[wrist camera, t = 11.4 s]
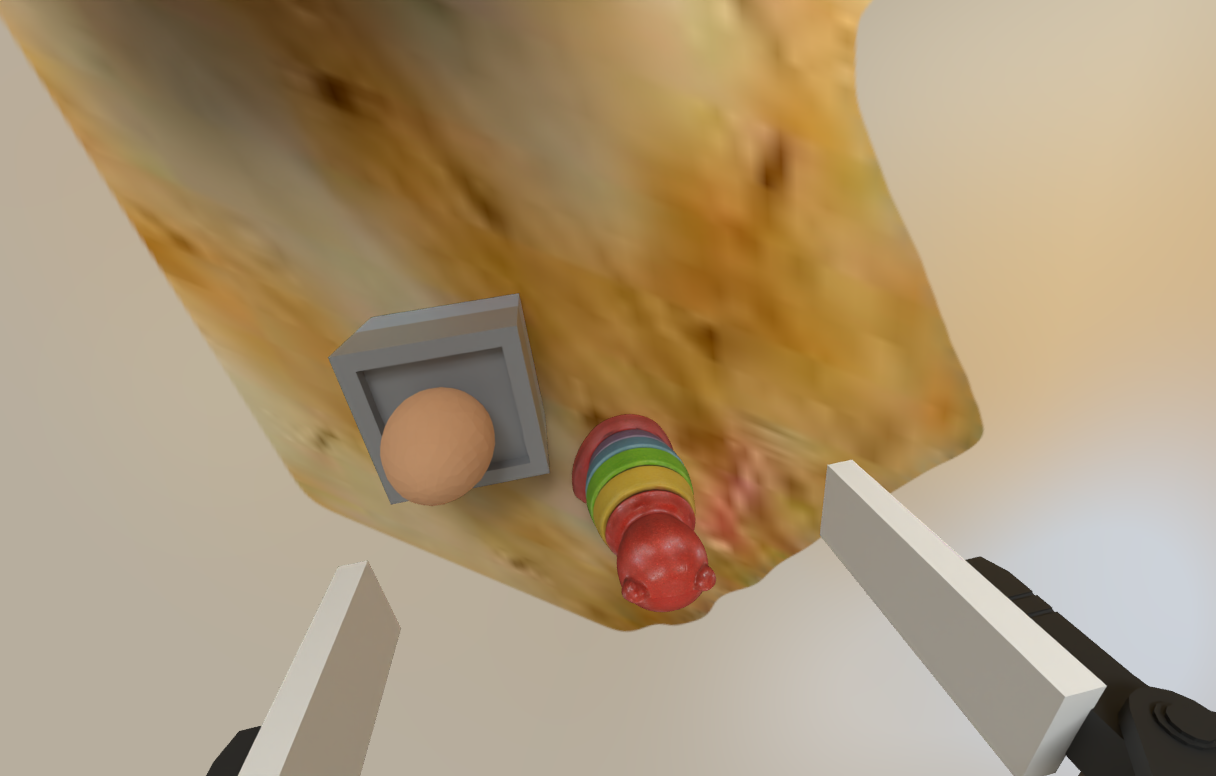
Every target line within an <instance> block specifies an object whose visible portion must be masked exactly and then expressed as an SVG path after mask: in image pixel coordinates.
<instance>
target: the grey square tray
mask: <svg viewBox="0 0 1216 776" xmlns="http://www.w3.org/2000/svg"><path fill="white" fill-rule="evenodd" d="M328 358H329V361H330V363H331V365H332V368H333V370H334V372H335V375H336V377H337V379H338V382H339V384H340V386H341V389H342V391H343V393H344V396H345V398H346V400H347V403H348V405H349V407H350V410H351V412H352V414H353V417H354V419H355V421H356V424H357V426H358V428H359V431H360V433H361V435H362V438H363V440H364V442H365V445H366V447H367V449H368V452H369V454H370V456H371V459H372V461H373V463H374V466H375V468H376V470H377V473H378V475H379V477H380V480H381V482H382V484H383V487H384V489H385V491H386V494H387V496H388V498H389V501H390V503H391V504H396V503H401V502H406V501H409V500H407V499H405V498H403V497H402V496H401V495H400V494H399V493H398V492H397V491H396V490H395V489H394V488H393V486H392V485H391V484H390V482H389V481H388V480H387V477H386V474H385V471H384V469H383V466H382V462H381V457H380V445H381V438H382V435H383V431H384V428H385V426H386V424H387V421H388V419H389V418H390V416H391V415H392V414H393V412H394V411H395V409H396V408H397V407H398V406H399V405H400V404H401V403H402V402H403V401H404V400H406V399H407V398H409V397H410V396H412V395H414V394H416V393H418V392H419V391H423V390H426V389H430V388H438V387H446V388H454V389H458V390H461V391H464V392H466V393H467V394H469V395H471V396H472V397H474V398H475V399H476V400H477V401H479V402H480V403H481V404H482V405H483V406H484V408H485V409H486V411H487V412H488V413H489V416H490V418H491V420H492V423H493V428H494V433H495V447H494V452H493V457H492V459H491V462H490V464H489V467H488V469H487V471H486V472H485V474H484V476H483V477H482V479H481V480H480V481H479V482H478V483H477V484H476V485H475V486H474V487H473V488H476V487H482V486H487V485H492V484H497V483H502V482H507V481H512V480H517V479H522V478H527V477H532V476H537V475H542V474H547V473H550V471H549V458H548V444H547V431H546V417H545V413H544V408H543V403H542V399H541V394H540V389H539V385H538V380H537V375H536V371H535V366H534V361H533V357H532V352H531V347H530V343H529V338H528V333H527V329H526V324H525V319H524V314H523V310H522V305H521V300H520V296H519V293H518V294H512V295H505V296H499V297H493V298H487V299H481V300H475V301H469V302H462V303H456V304H450V305H444V306H438V307H432V308H425V309H419V310H413V311H407V312H401V313H395V314H389V315H382V316H376V317H371V318H370V319H369V320H368V321H367V322H366V323H365V324H364V325H362V326H361V327H360V328H359V329H358V330H357V331H356V332H355V333H354V334H353V335H352V336H351V337H350V338H348V339H347V340H346V341H345V342H344V343H343V344H342V345H341V346H340V347H339V348H338V349H337V350H336V351H335V352H333V353H332V354H331V355H330V356H329V357H328Z"/></svg>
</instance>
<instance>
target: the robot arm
mask: <svg viewBox="0 0 1216 776" xmlns="http://www.w3.org/2000/svg"><path fill="white" fill-rule="evenodd" d="M820 536H821V537H822V538H823V539H824V541H825V542H826V543H827V545H828V546H829V547H830V548H831V550H832V551H833V552H834V553H835V554H836V556H837V557H838V558H839V560H840V561H841V562H842V563H843V564H844V566H845V567H846V568H847V569H848V571H849V572H850V573H851V574H852V576H853V577H854V578H855V579H856V580H857V582H858V583H859V584H860V586H861V587H862V588H863V589H864V591H865V592H866V593H867V594H868V596H869V597H870V598H871V599H872V600H873V602H874V603H875V604H876V605H877V607H878V608H879V609H880V610H881V612H882V613H883V614H884V615H885V617H886V618H887V619H888V620H889V622H890V623H891V624H892V625H893V627H894V628H895V629H896V630H897V631H898V633H899V634H900V635H901V636H902V638H903V639H904V640H905V641H906V643H907V644H908V645H909V646H910V648H911V649H912V650H913V651H914V653H915V654H916V655H917V656H918V657H919V659H920V660H921V661H922V663H923V664H924V665H925V666H926V667H927V669H928V670H929V671H930V672H931V674H932V675H933V676H934V677H935V679H936V680H937V681H938V682H939V684H940V685H941V686H942V687H943V689H944V690H945V691H946V692H947V694H948V695H949V696H950V697H951V699H952V700H953V701H954V702H955V703H956V705H957V706H958V707H959V708H960V710H961V711H962V712H963V713H964V715H965V716H966V717H967V718H968V720H969V721H970V722H971V723H972V725H973V726H974V727H975V728H976V730H977V731H978V732H979V733H980V735H981V736H982V737H983V738H984V740H985V741H986V742H987V743H988V744H989V746H990V747H991V748H992V749H993V751H994V752H995V753H996V754H997V756H998V757H999V758H1000V759H1001V761H1002V762H1003V763H1004V764H1005V766H1006V767H1007V768H1008V769H1009V771H1010V772H1011V773H1012V774H1013V775H1014V776H1046V775H1049V774H1053V773H1056V771H1057V769H1058V768H1059V766H1060V764H1061V763H1062V761H1063V759H1064V757H1065V756H1067V757H1068V758H1069V759H1070V760H1071V761H1072V762H1073V763H1074V764H1075V766H1076V767H1077V768H1078V769H1079V770H1080V771H1081V772H1080V774H1079V775H1078V776H1216V712H1212V711H1210V710H1208V709H1207V708H1205V707H1203V706H1202V705H1200V704H1198V703H1197V702H1195V701H1194V700H1191V699H1189V698H1187V697H1184V696H1182V695H1180V694H1177V693H1175V692H1173V691H1169V690H1164V689H1159V688H1155V687H1150V686H1148V685H1146V684H1145V683H1144V682H1142V681H1141V680H1140V679H1138V678H1137V677H1135V676H1134V675H1133V674H1132V673H1130V672H1129V671H1128V670H1127V669H1126V668H1124V667H1123V666H1122V665H1121V664H1119V663H1118V662H1117V661H1116V660H1115V659H1113V658H1112V657H1111V656H1110V655H1109V654H1107V653H1106V652H1105V651H1104V650H1103V649H1101V648H1100V647H1099V646H1098V645H1097V644H1095V643H1094V642H1093V641H1092V640H1091V639H1089V638H1088V637H1087V636H1086V635H1085V634H1083V633H1082V632H1081V631H1080V630H1079V629H1077V628H1076V627H1075V626H1074V625H1073V624H1071V623H1070V622H1069V621H1068V620H1066V619H1065V618H1064V617H1063V616H1062V615H1060V614H1059V613H1058V612H1054V611H1053V610H1052V607H1051V606H1050V605H1048V604H1047V603H1046V602H1044V600H1042V599H1041V598H1040V597H1039V596H1038V595H1036V596H1035V595H1034V594H1033V593H1032V591H1031V590H1030V589H1029V588H1028V587H1027V586H1026V585H1024V584H1023V583H1022V582H1021V581H1019V580H1018V579H1017V578H1016V577H1015V576H1013V575H1012V574H1011V573H1010V572H1008V571H1007V570H1005V569H1003V568H1001V567H999V566H997V565H995V564H994V563H992V562H990V561H988V560H986V559H984V558H982V557H976V558H972V559H968V560H964V559H963V558H962V557H961V556H960V555H959V554H957V553H956V552H955V551H954V550H953V549H952V548H951V547H950V546H949V545H947V544H946V543H945V542H944V541H943V540H942V539H940V538H939V537H938V536H937V535H936V534H935V533H934V532H932V530H930V529H929V528H928V527H927V526H926V525H925V524H924V523H922V522H921V521H920V520H919V519H918V518H917V517H916V516H915V515H913V514H912V513H911V512H910V511H909V510H908V509H907V508H906V507H904V506H903V505H902V504H901V503H900V502H899V501H898V500H897V499H895V498H894V497H893V496H892V495H891V494H890V493H889V492H888V491H886V490H885V489H884V488H883V487H882V486H881V485H880V484H879V483H877V482H876V481H875V480H874V479H873V478H872V477H871V476H870V475H868V474H867V473H866V472H865V471H864V470H863V469H862V468H861V467H859V466H858V465H857V464H856V463H855V462H854V461H853V460H849V461H844V462H839V463H834V464H830V465H827V474H826V484H825V493H824V502H823V512H822V521H821V531H820ZM400 630H401V627H400V625H399V623H398V621H397V619H396V617H395V615H394V613H393V611H392V609H391V607H390V605H389V603H388V601H387V599H386V597H385V595H384V593H383V591H382V589H381V586H380V585H379V582H378V580H377V578H376V576H375V574H374V572H373V570H372V568H371V566H370V564H369V562H368V561H363V562H358V563H353V564H348V565H343V566H339V567H338V568H337V570H336V572H335V574H334V577H333V579H332V581H331V583H330V585H329V587H328V589H327V591H326V593H325V595H324V597H323V599H322V602H321V604H320V606H319V608H318V610H317V612H316V614H315V616H314V618H313V620H312V622H311V624H310V626H309V629H308V631H307V633H306V635H305V637H304V639H303V641H302V643H301V645H300V647H299V649H298V651H297V654H296V656H295V658H294V660H293V662H292V664H291V666H290V668H289V670H288V673H287V674H286V676H285V679H284V681H283V683H282V685H281V687H280V689H279V691H278V693H277V695H276V697H275V699H274V701H273V704H272V706H271V708H270V710H269V712H268V714H267V716H266V718H265V720H264V722H263V724H262V726H258V727H254V728H250V729H246V730H242V731H239V732H238V733H237V734H236V736H235V737H234V738H233V739H232V740H231V742H230V743H229V744H228V745H227V747H226V748H225V749H224V750H223V751H222V752H221V754H220V755H219V756H218V757H217V759H216V760H215V761H214V762H213V764H212V766H211V768H210V770H209V771H208V773H207V775H206V776H360V774H361V770H362V767H363V764H364V760H365V756H366V752H367V749H368V745H369V742H370V738H371V734H372V731H373V727H374V724H375V720H376V717H377V713H378V709H379V706H380V702H381V699H382V695H383V691H384V688H385V684H386V681H387V677H388V673H389V670H390V666H391V662H392V659H393V655H394V652H395V647H396V644H397V641H398V637H399V634H400Z"/></svg>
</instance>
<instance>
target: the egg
mask: <svg viewBox="0 0 1216 776" xmlns="http://www.w3.org/2000/svg"><path fill="white" fill-rule="evenodd" d="M494 447H495V433H494V428H493V423H492V420H491V418H490V416H489V413H488V412H487V411H486V409H485V408H484V406H483V405H482V404H481V403H480V402H479V401H477V400H476V399H475V398H474V397H472V396H471V395H469V394H467V393H466V392H464V391H461V390H458V389H454V388H446V387H438V388H430V389H426V390H423V391H419V392H418V393H416V394H414V395H412V396H410V397H409V398H407V399H406V400H404V401H403V402H402V403H401V404H400V405H399V406H398V407H397V408H396V409H395V411H394V412H393V414H392V415H391V416H390V418H389V419H388V421H387V424H386V426H385V428H384V431H383V435H382V438H381V445H380V457H381V462H382V466H383V469H384V471H385V474H386V477H387V480H388V481H389V482H390V484H391V485H392V486H393V488H394V489H395V490H396V491H397V492H398V493H399V494H400V495H401V496H402V497H403V498H405V499H407V500H409V501H411V502H413V503H417V504H422V505H429V506H435V505H441V504H445V503H448V502H451V501H453V500H456V499H457V498H459V497H461V496H463V495H465V494H466V493H467V492H468V491H469V490H470V489H472V488H473V487H474V486H475V485H476V484H477V483H478V482H479V481H480V480H481V479H482V477H483V476H484V474H485V472H486V471H487V469H488V467H489V464H490V462H491V459H492V457H493V452H494Z"/></svg>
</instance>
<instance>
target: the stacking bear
mask: <svg viewBox="0 0 1216 776" xmlns="http://www.w3.org/2000/svg"><path fill="white" fill-rule="evenodd" d="M572 485H573V491H574V494H575V495H576V497H577V498H579V499H580V500H582V501H583V502H584V503H587V506H588V510H589V513H590V516H591V518H592V520H593V523H594V524H595V526H596V528H597V530H598V532H599V534H600V536H601V538H602V539H603V541H604V542H605V544H606V545H607V546H608V547H609V548H610V549H611V550H612V552H613V553H614V554H615V555H616V556H617V571H618V576H619V580H620V583H621V586H622V595H623V597H624V598H625V599H626V600H628V601H629V602H631V603H635V604H636V605H638V606H640V607H642V608H644V609H647V610H650V611H654V612H669V611H674V610H678V609H681V608H684V607H686V606H688V605H689V604H691V603H692V602H693V601H695V600H696V599H697V598H698V597H699V596H700V594H701V593H702V591H707V590H710V589H711V588H712V587H713V586H714V585H715V582H716V576H715V573H714V572H713V570H712V569H711V568H710V567H709V566H708V559H707V554H706V551H705V548H704V546H703V544H702V542H701V540H700V539H699V537H698V536H697V535H696V533H695V532H694V528H695V502H694V496H693V488H692V484H691V480H690V477H689V474H688V472H687V470H686V468H685V466H684V464H683V462H682V461H681V460H680V458H679V457H678V456H677V454H676V453H675V452H674V451H673V448H672V445H671V443H670V441H669V439H668V437H667V435H666V434H665V432H664V431H663V430H662V428H661V427H660V426H659V425H658V424H657V423H656V422H654V421H653V420H651V419H649V418H647V417H644V416H640V415H634V414H625V415H619V416H615V417H612V418H609V419H607V420H605V421H603V422H602V423H600V424H599V425H597V426H596V427H595V428H594V429H593V430H592V431H591V432H590V433H589V435H588V436H587V437H586V438H585V440H584V441H583V443H582V445H581V447H580V448H579V451H578V453H577V455H576V458H575V461H574V465H573V471H572Z"/></svg>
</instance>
